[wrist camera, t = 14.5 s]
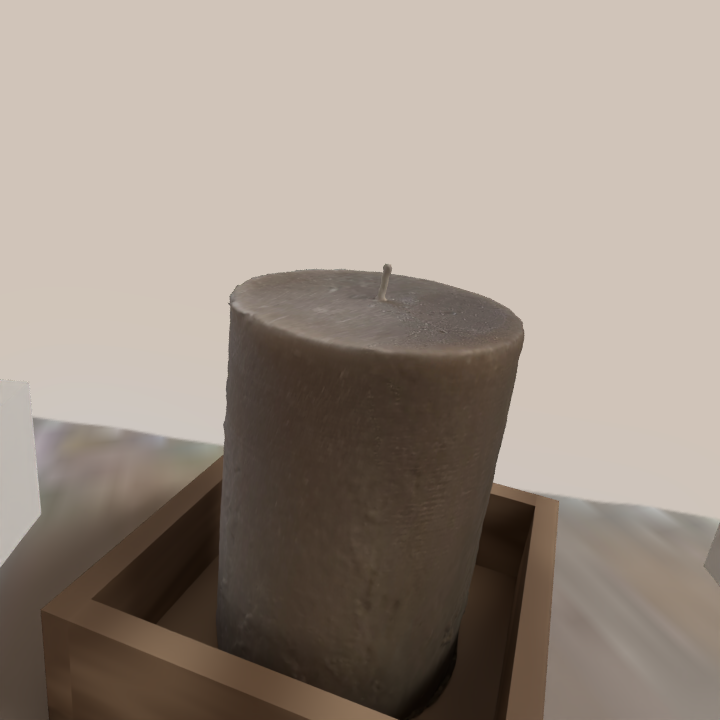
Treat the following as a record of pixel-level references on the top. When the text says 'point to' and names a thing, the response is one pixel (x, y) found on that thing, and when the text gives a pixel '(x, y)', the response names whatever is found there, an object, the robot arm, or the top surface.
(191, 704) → the walnut crate
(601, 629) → the top surface
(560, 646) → the top surface
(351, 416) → the pillar candle
